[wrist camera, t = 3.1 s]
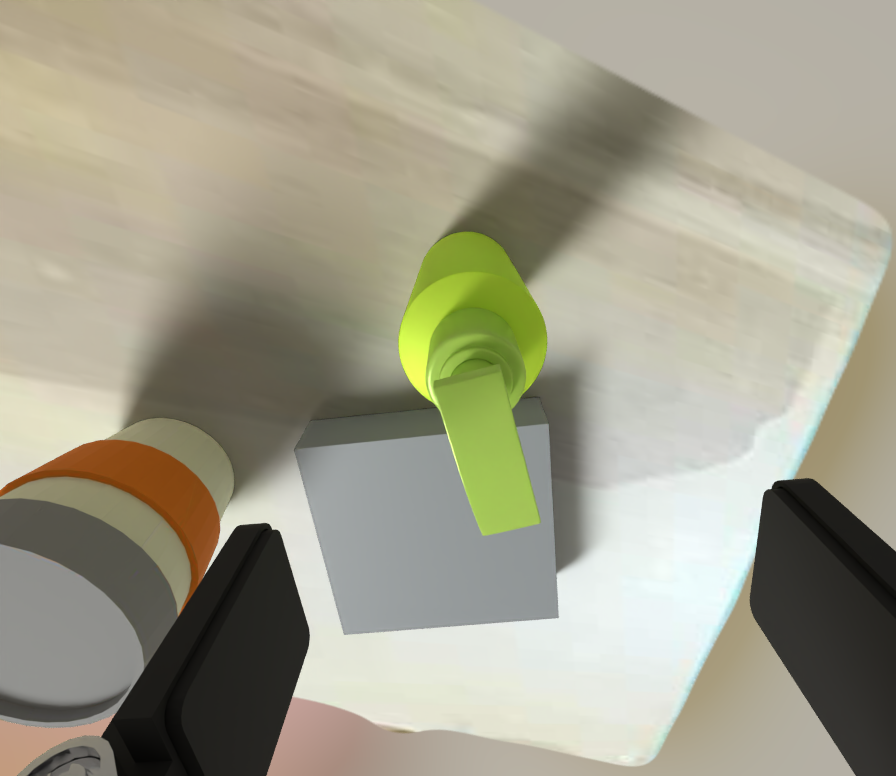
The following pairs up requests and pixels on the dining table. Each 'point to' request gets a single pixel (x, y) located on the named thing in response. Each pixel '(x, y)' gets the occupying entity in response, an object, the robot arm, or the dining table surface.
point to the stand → (423, 525)
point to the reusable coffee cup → (102, 566)
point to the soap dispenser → (477, 368)
